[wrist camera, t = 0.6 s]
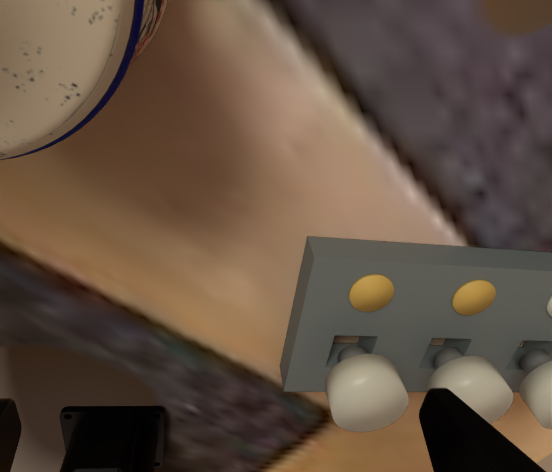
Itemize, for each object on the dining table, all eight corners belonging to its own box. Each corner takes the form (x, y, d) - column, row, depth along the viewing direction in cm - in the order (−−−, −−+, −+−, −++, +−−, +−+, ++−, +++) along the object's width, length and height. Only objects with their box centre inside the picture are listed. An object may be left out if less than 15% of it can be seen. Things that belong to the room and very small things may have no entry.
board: (535, 369, 31) (555, 394, 29) (279, 366, 28) (284, 394, 26) (609, 256, 26) (639, 278, 24) (307, 236, 23) (315, 259, 21)
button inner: (376, 379, 26) (396, 431, 23) (312, 379, 25) (325, 432, 22) (394, 331, 24) (419, 381, 21) (326, 329, 23) (341, 381, 20)
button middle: (465, 380, 27) (495, 430, 24) (406, 379, 26) (430, 431, 23) (490, 334, 25) (526, 382, 22) (427, 332, 24) (455, 382, 21)
